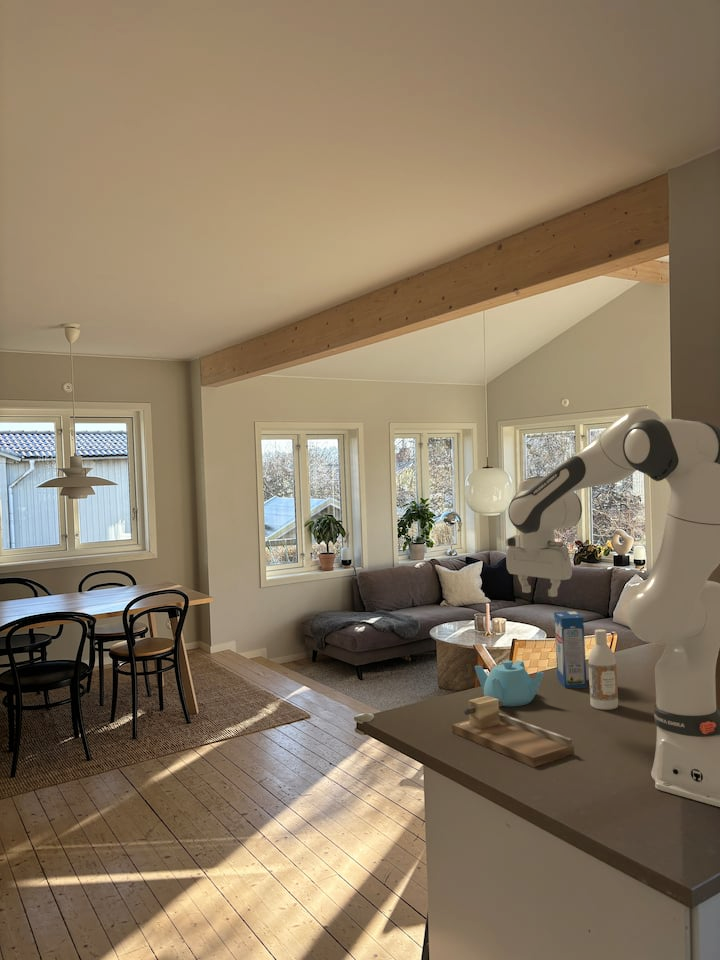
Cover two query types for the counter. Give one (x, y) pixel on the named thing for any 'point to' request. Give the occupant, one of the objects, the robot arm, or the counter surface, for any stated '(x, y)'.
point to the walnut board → (518, 740)
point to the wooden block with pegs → (483, 712)
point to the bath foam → (602, 674)
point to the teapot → (509, 683)
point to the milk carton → (570, 649)
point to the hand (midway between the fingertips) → (539, 594)
